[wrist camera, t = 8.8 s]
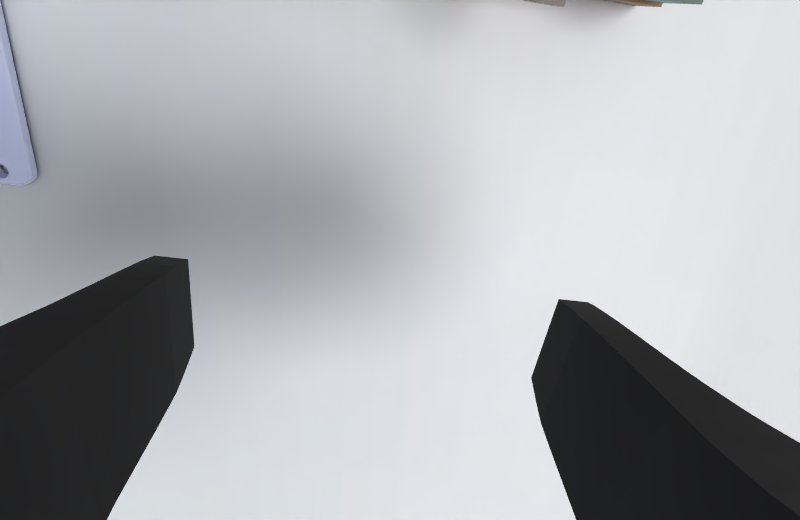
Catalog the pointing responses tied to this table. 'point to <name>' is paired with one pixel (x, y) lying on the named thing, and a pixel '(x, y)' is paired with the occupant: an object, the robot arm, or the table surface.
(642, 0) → the board
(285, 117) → the table surface
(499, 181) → the table surface
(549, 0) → the beige block with rod
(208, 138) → the table surface
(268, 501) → the table surface
